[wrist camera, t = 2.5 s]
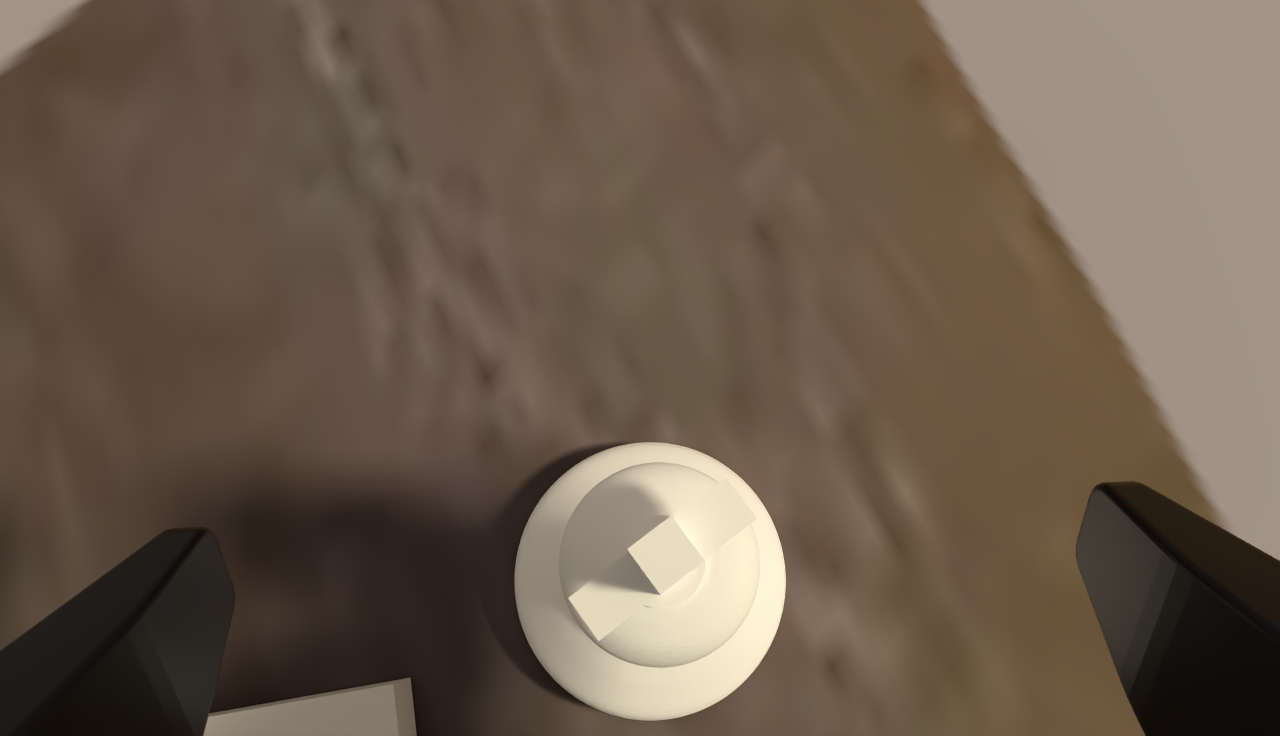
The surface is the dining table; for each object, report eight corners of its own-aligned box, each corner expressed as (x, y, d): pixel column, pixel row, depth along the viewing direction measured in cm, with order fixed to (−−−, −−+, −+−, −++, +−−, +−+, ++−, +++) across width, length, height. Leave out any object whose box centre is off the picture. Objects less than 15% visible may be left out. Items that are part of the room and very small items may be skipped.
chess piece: (462, 549, 17) (232, 492, 7) (674, 392, 18) (720, 149, 8) (622, 780, 16) (598, 1060, 6) (839, 604, 17) (1114, 619, 7)
